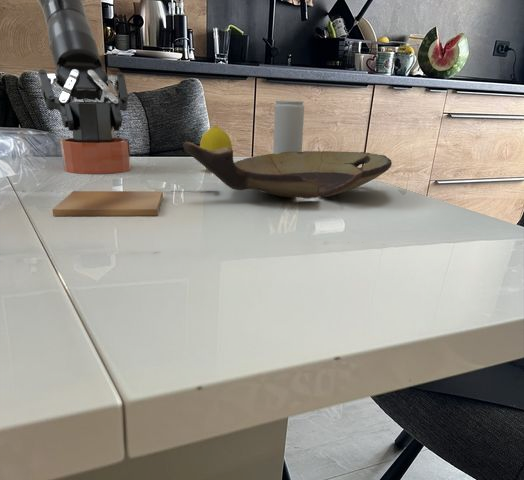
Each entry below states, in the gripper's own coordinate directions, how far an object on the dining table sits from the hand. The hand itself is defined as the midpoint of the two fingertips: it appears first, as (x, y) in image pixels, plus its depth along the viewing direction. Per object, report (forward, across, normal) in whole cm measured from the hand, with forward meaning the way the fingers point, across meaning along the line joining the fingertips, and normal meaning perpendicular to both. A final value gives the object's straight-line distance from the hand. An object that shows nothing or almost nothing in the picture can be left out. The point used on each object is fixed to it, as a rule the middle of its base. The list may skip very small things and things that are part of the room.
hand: (94, 127), depth 89 cm
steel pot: (+3, 0, +6) cm, 7 cm away
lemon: (+10, +19, +1) cm, 21 cm away
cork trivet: (+24, -4, -13) cm, 27 cm away
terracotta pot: (+4, 0, +6) cm, 8 cm away
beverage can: (+14, +29, -3) cm, 33 cm away
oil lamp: (+24, +22, -14) cm, 35 cm away
